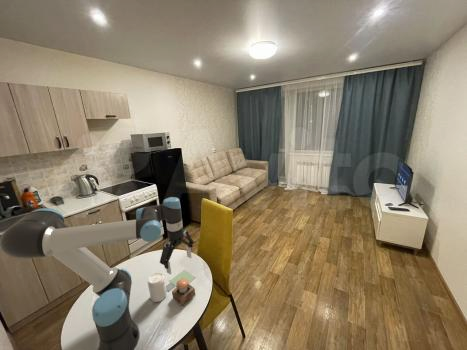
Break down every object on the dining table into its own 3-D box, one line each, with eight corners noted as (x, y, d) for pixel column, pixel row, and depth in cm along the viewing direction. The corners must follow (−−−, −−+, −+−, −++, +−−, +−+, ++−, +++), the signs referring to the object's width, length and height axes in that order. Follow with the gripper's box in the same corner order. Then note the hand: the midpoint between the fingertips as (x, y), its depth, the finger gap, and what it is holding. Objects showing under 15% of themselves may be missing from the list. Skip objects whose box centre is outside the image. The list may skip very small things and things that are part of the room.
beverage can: (169, 290, 108) (166, 272, 105) (162, 303, 100) (159, 284, 97) (155, 289, 109) (152, 272, 106) (148, 302, 101) (144, 283, 98)
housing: (182, 306, 98) (181, 299, 97) (172, 298, 103) (171, 291, 102) (195, 295, 104) (194, 288, 103) (185, 287, 109) (184, 281, 108)
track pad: (168, 291, 107) (168, 291, 107) (164, 287, 110) (164, 287, 110) (175, 286, 111) (175, 286, 110) (170, 282, 113) (170, 282, 113)
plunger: (182, 299, 99) (181, 289, 97) (175, 293, 102) (174, 283, 101) (191, 291, 103) (190, 281, 102) (184, 285, 107) (183, 276, 105)
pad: (180, 290, 108) (180, 289, 108) (169, 281, 115) (169, 280, 114) (195, 277, 116) (195, 277, 116) (184, 269, 123) (184, 269, 123)
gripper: (157, 243, 83) (164, 283, 89) (198, 219, 103) (201, 253, 108) (147, 238, 87) (154, 277, 93) (188, 216, 107) (192, 249, 113)
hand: (179, 264), depth 101 cm, fingers open, 13 cm apart
